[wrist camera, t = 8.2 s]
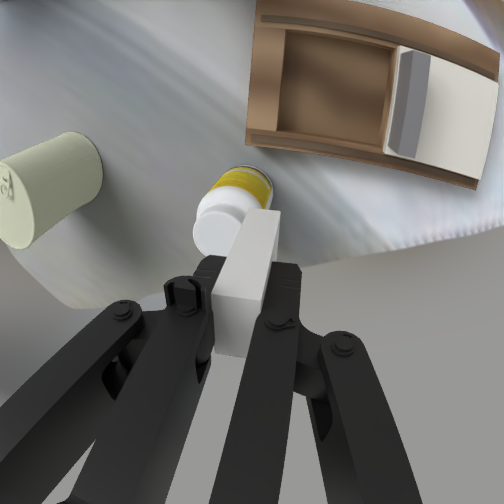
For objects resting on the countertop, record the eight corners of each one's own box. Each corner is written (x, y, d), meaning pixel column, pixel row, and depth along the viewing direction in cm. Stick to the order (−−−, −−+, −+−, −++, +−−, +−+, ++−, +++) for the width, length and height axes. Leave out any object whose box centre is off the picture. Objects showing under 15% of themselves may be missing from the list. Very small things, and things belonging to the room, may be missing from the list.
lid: (397, 46, 18) (412, 40, 15) (494, 83, 17) (518, 86, 14) (382, 151, 23) (394, 163, 20) (476, 177, 22) (497, 192, 19)
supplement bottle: (217, 163, 29) (178, 200, 21) (273, 164, 28) (257, 202, 20) (220, 215, 32) (188, 267, 23) (273, 217, 31) (259, 273, 22)
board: (261, -3, 20) (257, -10, 18) (488, 53, 18) (500, 53, 16) (249, 140, 27) (244, 145, 25) (466, 183, 25) (476, 191, 23)
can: (112, 149, 30) (35, 189, 20) (94, 216, 34) (31, 269, 24) (56, 120, 29) (-21, 149, 18) (44, 184, 33) (-21, 226, 23)
